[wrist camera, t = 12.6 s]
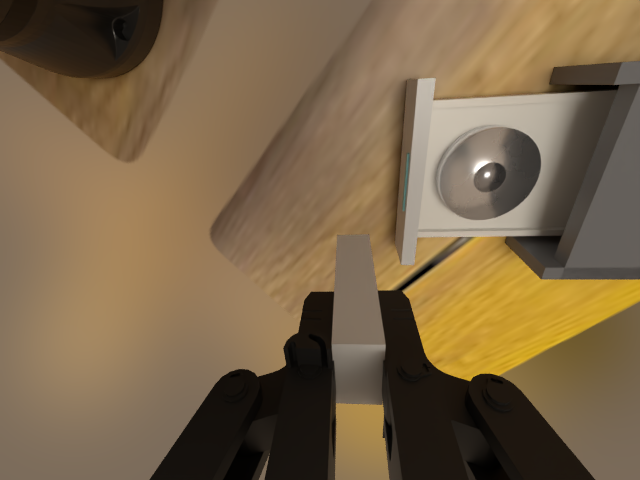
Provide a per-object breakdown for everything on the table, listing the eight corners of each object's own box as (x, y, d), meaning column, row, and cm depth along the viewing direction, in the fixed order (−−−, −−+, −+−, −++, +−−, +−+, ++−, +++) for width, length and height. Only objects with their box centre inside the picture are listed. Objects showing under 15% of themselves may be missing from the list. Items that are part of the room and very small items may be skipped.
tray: (405, 79, 24) (415, 79, 20) (645, 64, 22) (704, 60, 19) (393, 243, 31) (399, 265, 28) (572, 241, 30) (605, 264, 26)
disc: (438, 131, 25) (444, 134, 23) (539, 119, 24) (552, 121, 22) (433, 216, 28) (437, 223, 27) (520, 209, 28) (529, 216, 26)
